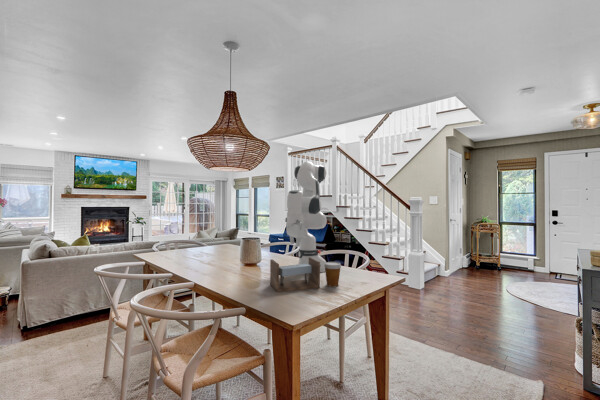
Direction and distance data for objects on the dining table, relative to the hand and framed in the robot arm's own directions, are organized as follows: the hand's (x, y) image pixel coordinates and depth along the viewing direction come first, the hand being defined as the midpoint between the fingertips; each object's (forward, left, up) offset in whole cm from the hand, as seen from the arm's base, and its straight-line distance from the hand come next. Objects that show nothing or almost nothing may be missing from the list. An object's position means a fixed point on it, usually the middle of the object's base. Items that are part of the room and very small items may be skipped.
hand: (294, 245), depth 162 cm
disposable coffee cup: (-21, +4, -23) cm, 31 cm away
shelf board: (0, 0, -16) cm, 16 cm away
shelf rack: (0, 0, -23) cm, 23 cm away
